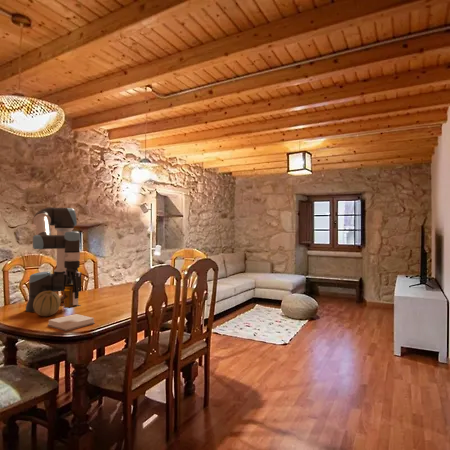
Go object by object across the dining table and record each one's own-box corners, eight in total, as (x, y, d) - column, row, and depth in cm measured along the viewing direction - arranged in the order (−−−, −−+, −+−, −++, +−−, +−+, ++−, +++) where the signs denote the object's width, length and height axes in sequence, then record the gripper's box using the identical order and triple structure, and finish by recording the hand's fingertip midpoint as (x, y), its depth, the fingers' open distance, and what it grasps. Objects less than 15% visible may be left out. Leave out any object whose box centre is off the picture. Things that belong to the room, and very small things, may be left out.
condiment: (60, 307, 185) (60, 284, 185) (75, 304, 192) (75, 282, 192) (68, 308, 181) (68, 285, 181) (83, 305, 188) (83, 283, 188)
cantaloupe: (44, 312, 213) (44, 287, 213) (66, 313, 211) (66, 288, 211) (26, 318, 199) (26, 292, 199) (49, 319, 196) (50, 292, 196)
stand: (47, 325, 184) (47, 320, 184) (76, 319, 198) (76, 313, 198) (66, 331, 175) (66, 325, 175) (94, 323, 189) (94, 318, 189)
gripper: (55, 260, 189) (54, 302, 188) (76, 261, 178) (76, 307, 178) (68, 259, 195) (67, 300, 195) (89, 260, 185) (88, 304, 184)
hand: (71, 303), depth 186 cm, fingers closed on condiment, 6 cm apart
